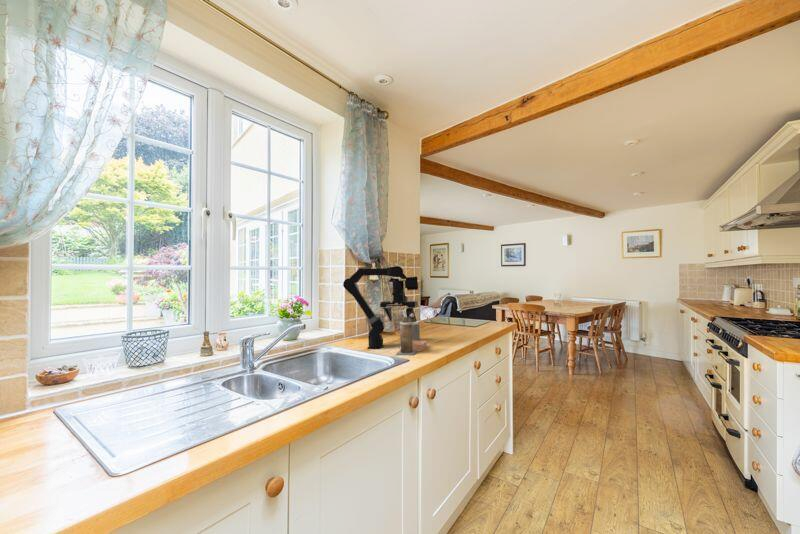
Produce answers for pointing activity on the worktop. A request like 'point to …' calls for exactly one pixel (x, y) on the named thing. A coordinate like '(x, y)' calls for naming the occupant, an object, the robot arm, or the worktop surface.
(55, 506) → the worktop surface
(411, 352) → the slate coaster
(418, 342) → the holder
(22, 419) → the worktop surface
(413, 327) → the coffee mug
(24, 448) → the worktop surface
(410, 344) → the pepper mill
